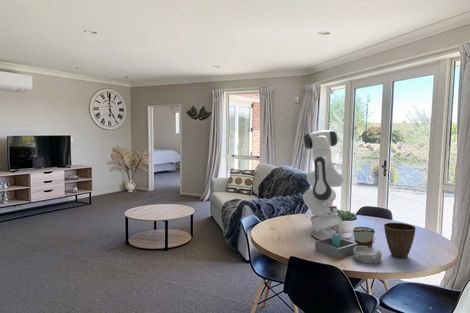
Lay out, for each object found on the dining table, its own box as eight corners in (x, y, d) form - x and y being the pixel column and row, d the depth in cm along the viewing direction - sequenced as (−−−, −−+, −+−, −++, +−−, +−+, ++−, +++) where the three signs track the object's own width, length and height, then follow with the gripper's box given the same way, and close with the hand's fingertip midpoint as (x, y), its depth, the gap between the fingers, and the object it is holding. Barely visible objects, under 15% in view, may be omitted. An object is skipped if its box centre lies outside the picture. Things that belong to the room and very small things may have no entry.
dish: (358, 252, 180) (358, 243, 180) (384, 258, 171) (385, 249, 171) (348, 260, 169) (348, 251, 169) (376, 267, 160) (376, 257, 160)
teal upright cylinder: (335, 248, 186) (335, 232, 185) (341, 250, 182) (342, 234, 181) (330, 250, 183) (330, 234, 183) (336, 252, 180) (336, 236, 179)
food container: (371, 243, 195) (371, 226, 195) (374, 246, 189) (375, 229, 188) (350, 242, 196) (350, 226, 196) (352, 246, 190) (352, 229, 190)
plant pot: (378, 256, 175) (379, 226, 174) (389, 248, 185) (390, 220, 184) (409, 263, 164) (409, 232, 163) (418, 255, 175) (419, 226, 173)
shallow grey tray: (333, 244, 194) (333, 236, 193) (357, 252, 181) (357, 243, 180) (315, 250, 185) (315, 241, 184) (338, 258, 172) (338, 249, 171)
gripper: (312, 214, 182) (325, 235, 175) (336, 208, 194) (350, 228, 187) (306, 220, 187) (319, 241, 179) (329, 214, 198) (343, 234, 191)
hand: (335, 235), depth 183 cm, fingers open, 8 cm apart
